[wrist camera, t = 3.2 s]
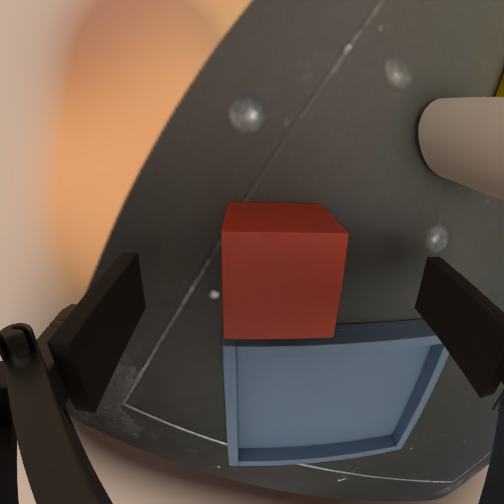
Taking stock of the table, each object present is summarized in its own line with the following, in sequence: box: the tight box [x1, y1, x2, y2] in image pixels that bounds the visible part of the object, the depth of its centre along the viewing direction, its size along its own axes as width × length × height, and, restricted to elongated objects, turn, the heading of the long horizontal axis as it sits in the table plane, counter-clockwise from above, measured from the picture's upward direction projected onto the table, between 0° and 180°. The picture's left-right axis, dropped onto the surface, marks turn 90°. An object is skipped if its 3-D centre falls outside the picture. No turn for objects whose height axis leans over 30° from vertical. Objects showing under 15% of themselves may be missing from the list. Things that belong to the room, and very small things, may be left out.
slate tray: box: [222, 319, 449, 466], centre depth 22 cm, size 16×14×2 cm
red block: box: [221, 202, 349, 339], centre depth 16 cm, size 5×5×5 cm
